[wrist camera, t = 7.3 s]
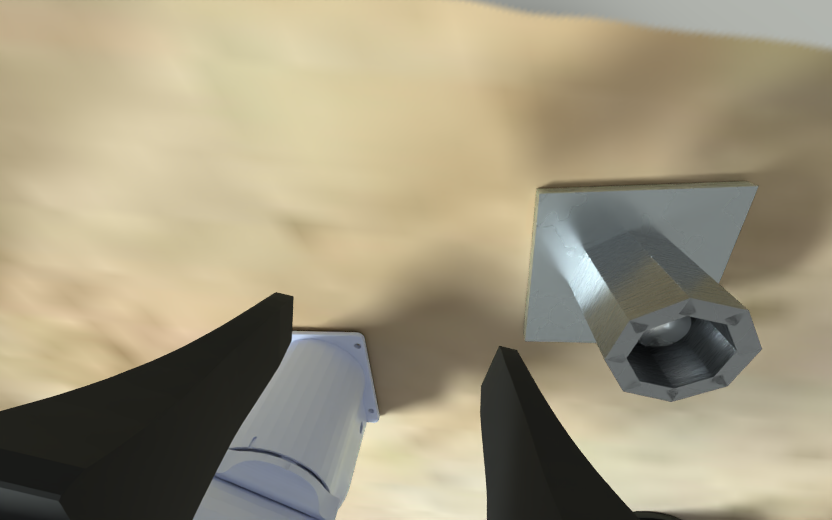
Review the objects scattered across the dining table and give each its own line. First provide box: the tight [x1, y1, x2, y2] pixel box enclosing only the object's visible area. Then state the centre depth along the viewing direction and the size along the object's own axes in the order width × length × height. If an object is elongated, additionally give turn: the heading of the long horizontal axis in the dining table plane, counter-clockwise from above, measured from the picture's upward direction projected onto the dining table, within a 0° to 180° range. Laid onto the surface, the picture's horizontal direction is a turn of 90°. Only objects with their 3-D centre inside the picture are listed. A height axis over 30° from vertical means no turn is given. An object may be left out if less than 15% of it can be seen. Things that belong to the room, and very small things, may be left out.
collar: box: [569, 231, 762, 402], centre depth 17 cm, size 5×5×6 cm
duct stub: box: [523, 181, 758, 347], centre depth 18 cm, size 10×10×5 cm
